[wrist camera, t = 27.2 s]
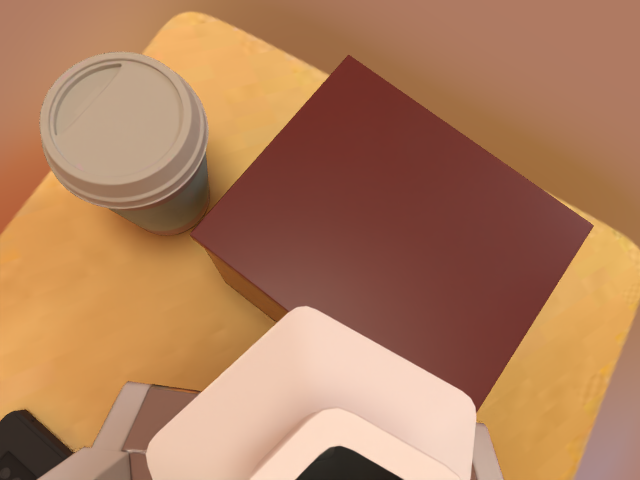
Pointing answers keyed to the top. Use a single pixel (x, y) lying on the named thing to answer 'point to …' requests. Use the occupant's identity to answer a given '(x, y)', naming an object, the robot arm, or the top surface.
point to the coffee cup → (129, 140)
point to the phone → (28, 448)
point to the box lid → (396, 230)
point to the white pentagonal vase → (319, 414)
